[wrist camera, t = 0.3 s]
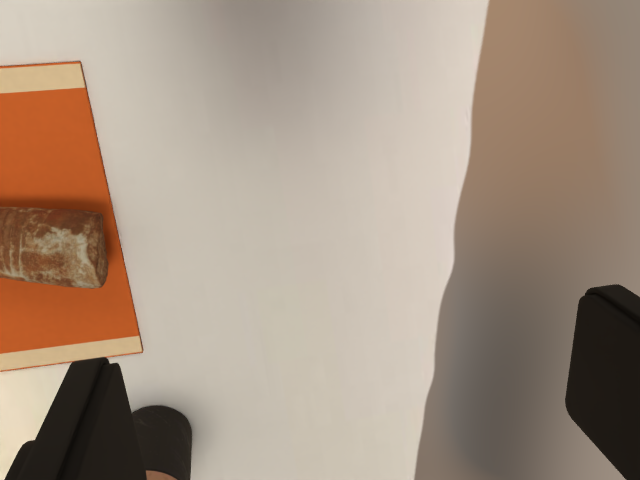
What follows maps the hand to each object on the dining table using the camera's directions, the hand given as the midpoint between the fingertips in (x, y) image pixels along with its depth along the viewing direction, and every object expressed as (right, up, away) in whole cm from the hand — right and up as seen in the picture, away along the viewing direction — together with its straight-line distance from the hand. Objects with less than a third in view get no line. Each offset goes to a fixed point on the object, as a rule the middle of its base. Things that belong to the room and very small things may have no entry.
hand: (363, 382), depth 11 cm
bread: (-28, +3, +33) cm, 43 cm away
